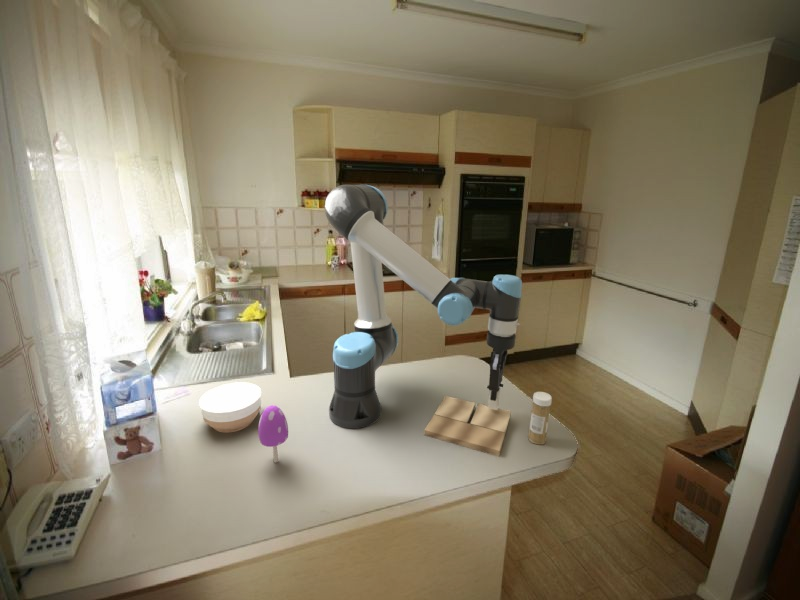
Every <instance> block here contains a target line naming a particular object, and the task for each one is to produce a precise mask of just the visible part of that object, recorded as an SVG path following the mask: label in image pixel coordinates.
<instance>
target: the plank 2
mask: <svg viewBox="0 0 800 600" xmlns="http://www.w3.org/2000/svg"><path fill="white" fill-rule="evenodd" d="M511 413H512V411H510V410H507V409H502V408H499V407H498V409H497V410H494V409H490V408H488V405H485V404H482V403H478V404H477V406H476V409H475V411H474V413H473V416H472V419H471V421H470V422H469V424H472V425H476V426H480V427H483V428H487V429H491V430H495V431H499V432H503V433H505V434H506V432H507V430H508V425H509V422H510V418H511Z"/></svg>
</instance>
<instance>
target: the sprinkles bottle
mask: <svg viewBox="0 0 800 600" xmlns="http://www.w3.org/2000/svg"><path fill="white" fill-rule="evenodd" d="M552 399H553V397H552V395H550V394H549V393H548V392H545V391H536V392H535V391H534V393H533V396H532V407H531V408H532V409H531V414H530V421H529V430H528V431H529V432H528V436H527V438H528V440H529V442H531V443H532V444H535V445H538V446H540V445H544V444H546V441H547V439H546V438H547V432H548V426H549V416H550V411H551V410H550V409H551V405H552Z"/></svg>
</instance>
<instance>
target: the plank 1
mask: <svg viewBox="0 0 800 600" xmlns="http://www.w3.org/2000/svg"><path fill="white" fill-rule="evenodd" d="M475 408H476V402H473V401H468V400H464V399H460V398H455V397H451V396H447V395H444V397H443V398H442V401H441V402H440V404H439V406H438V407H437V409H436V411H435V413H434V414H433V416H434V415H437V416H441V417H445V418H449V419H453V420H456V421H460V422H464V423H468V424H469V421H470V419H471V416H472V414H473V412H474V409H475Z"/></svg>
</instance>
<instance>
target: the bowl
mask: <svg viewBox="0 0 800 600" xmlns="http://www.w3.org/2000/svg"><path fill="white" fill-rule="evenodd" d="M261 396H262V389H261V387H259V386H258V385H256V384H253V383H251V382H240V381H239V382H238V381H237V382H230V383H225V384H222V385H219V386H216V387H214V388H211V389H209V390H208V391H206V392H204V394H202V396H201V397H200V399H198V400H199V401H198V407H199V408H200V409H201V416H202V418H203V420H204V422H205V423H206V424H207V425H208V426H209V427H211V428H213V429H214V430H215V431H216V432H218V433H227V434H229V433H235V432H238V431H240V430H241V431H242V430H244V429H245V428H247V427H248V426H250V425H251V424H252V423H253V422H254V419H255V418H256V417H257V415H258V414H259V412H260V410H261V405H262V400H261V399H262V397H261Z"/></svg>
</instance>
